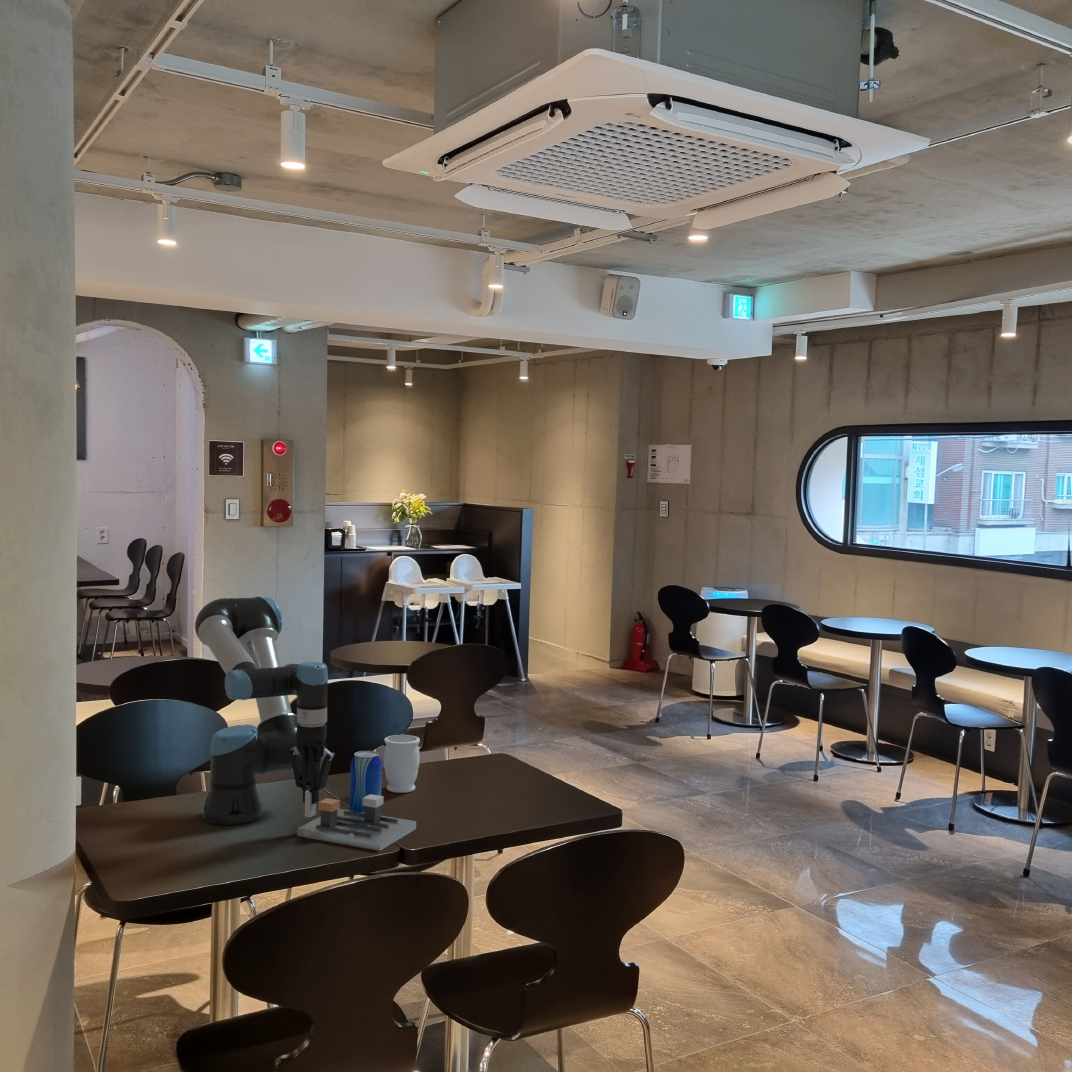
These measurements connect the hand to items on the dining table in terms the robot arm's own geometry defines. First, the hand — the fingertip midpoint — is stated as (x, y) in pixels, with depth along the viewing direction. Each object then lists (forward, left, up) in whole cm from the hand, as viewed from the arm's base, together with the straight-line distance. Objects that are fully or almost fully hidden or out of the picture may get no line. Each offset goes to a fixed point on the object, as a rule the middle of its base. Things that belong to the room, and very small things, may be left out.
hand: (310, 815), depth 257 cm
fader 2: (+13, +8, -2) cm, 16 cm away
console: (+11, +4, -4) cm, 13 cm away
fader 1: (+5, 0, -2) cm, 6 cm away
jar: (+2, +42, -4) cm, 42 cm away
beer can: (+4, +19, -4) cm, 20 cm away
